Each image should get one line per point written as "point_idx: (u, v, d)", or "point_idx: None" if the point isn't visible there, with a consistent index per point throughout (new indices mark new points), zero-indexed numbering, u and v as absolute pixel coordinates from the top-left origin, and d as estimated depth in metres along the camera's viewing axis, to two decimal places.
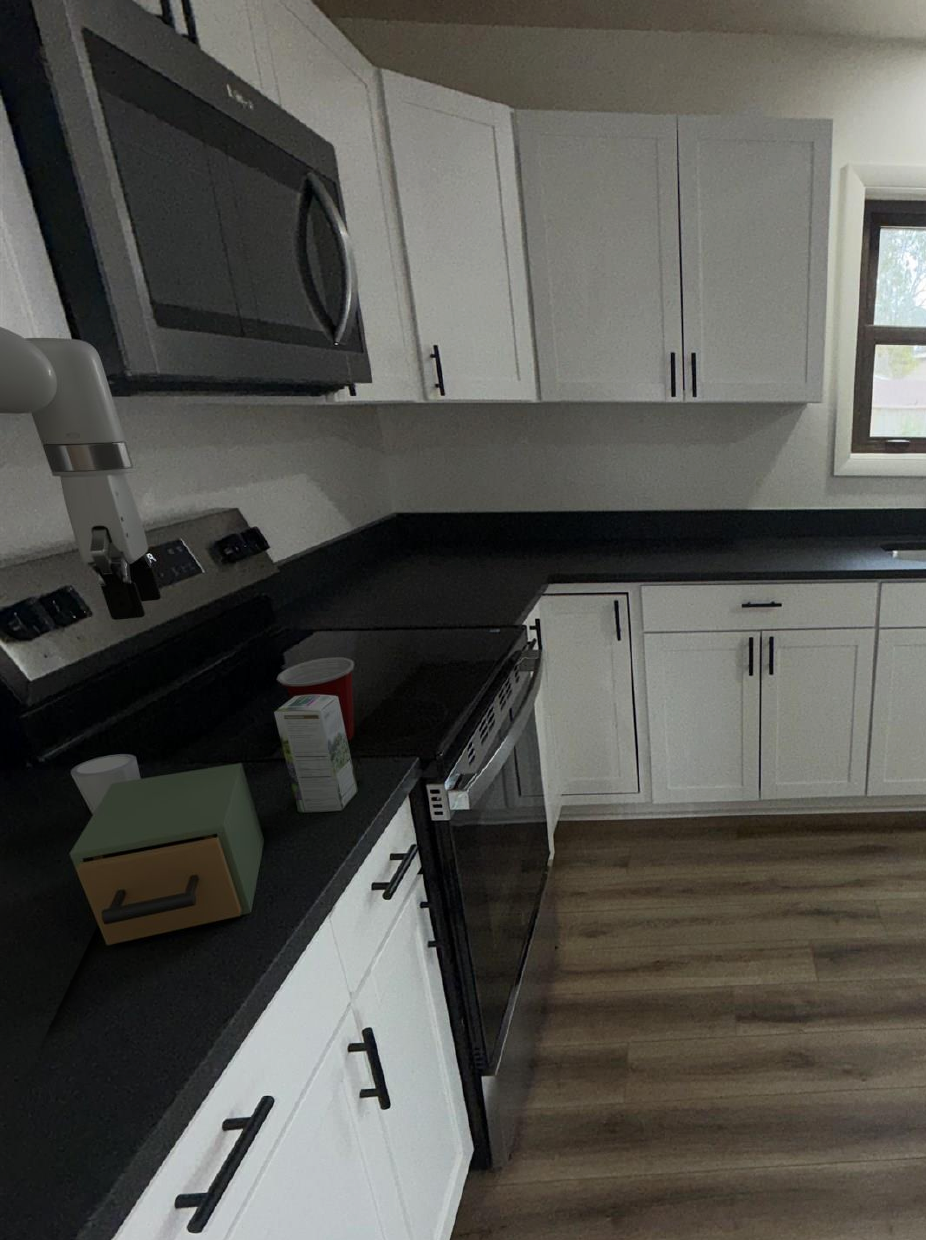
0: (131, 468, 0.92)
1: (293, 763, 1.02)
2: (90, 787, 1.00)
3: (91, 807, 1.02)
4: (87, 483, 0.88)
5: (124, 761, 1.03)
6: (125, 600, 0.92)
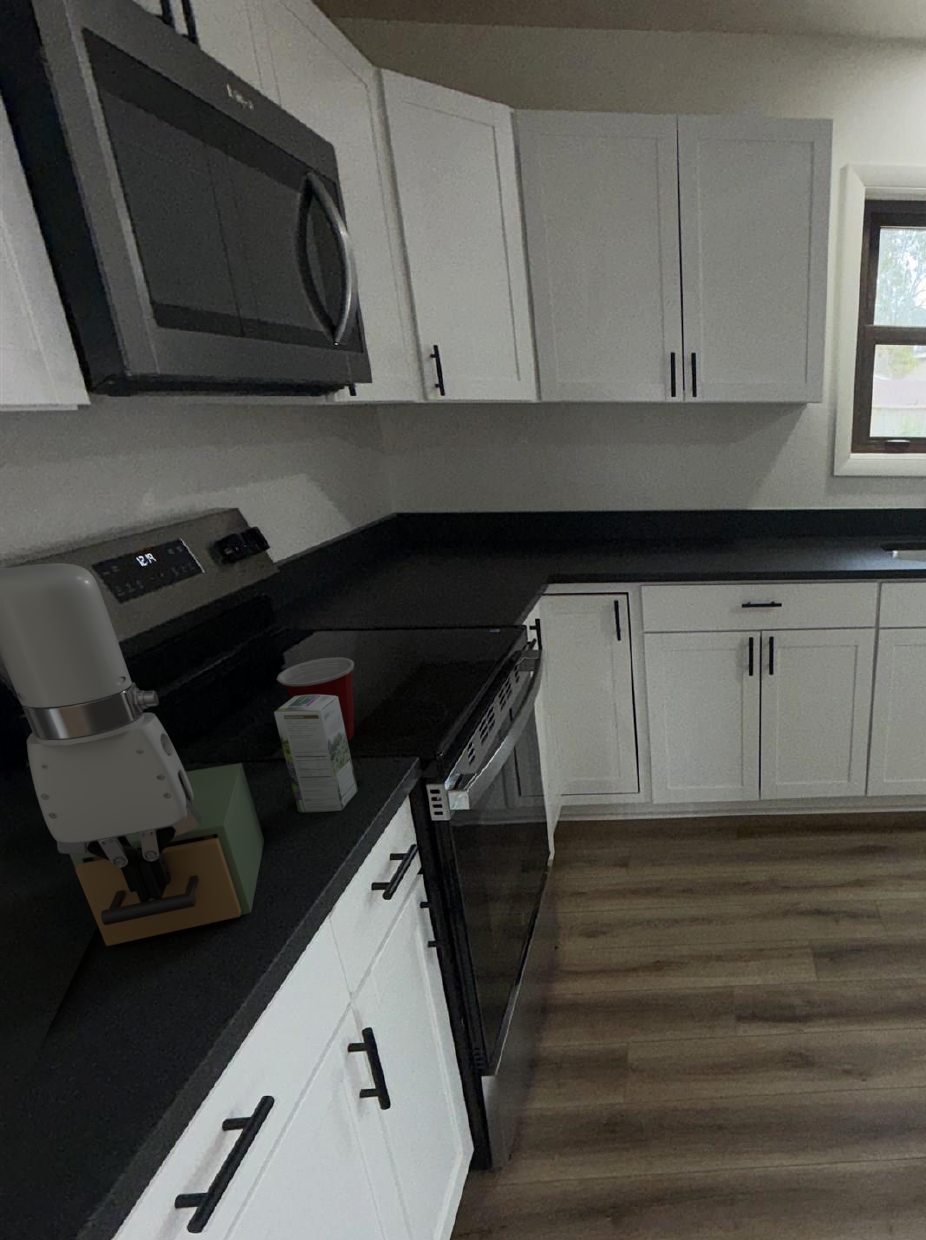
0: (72, 739, 0.65)
1: (293, 763, 1.02)
2: None
3: None
4: None
5: None
6: None
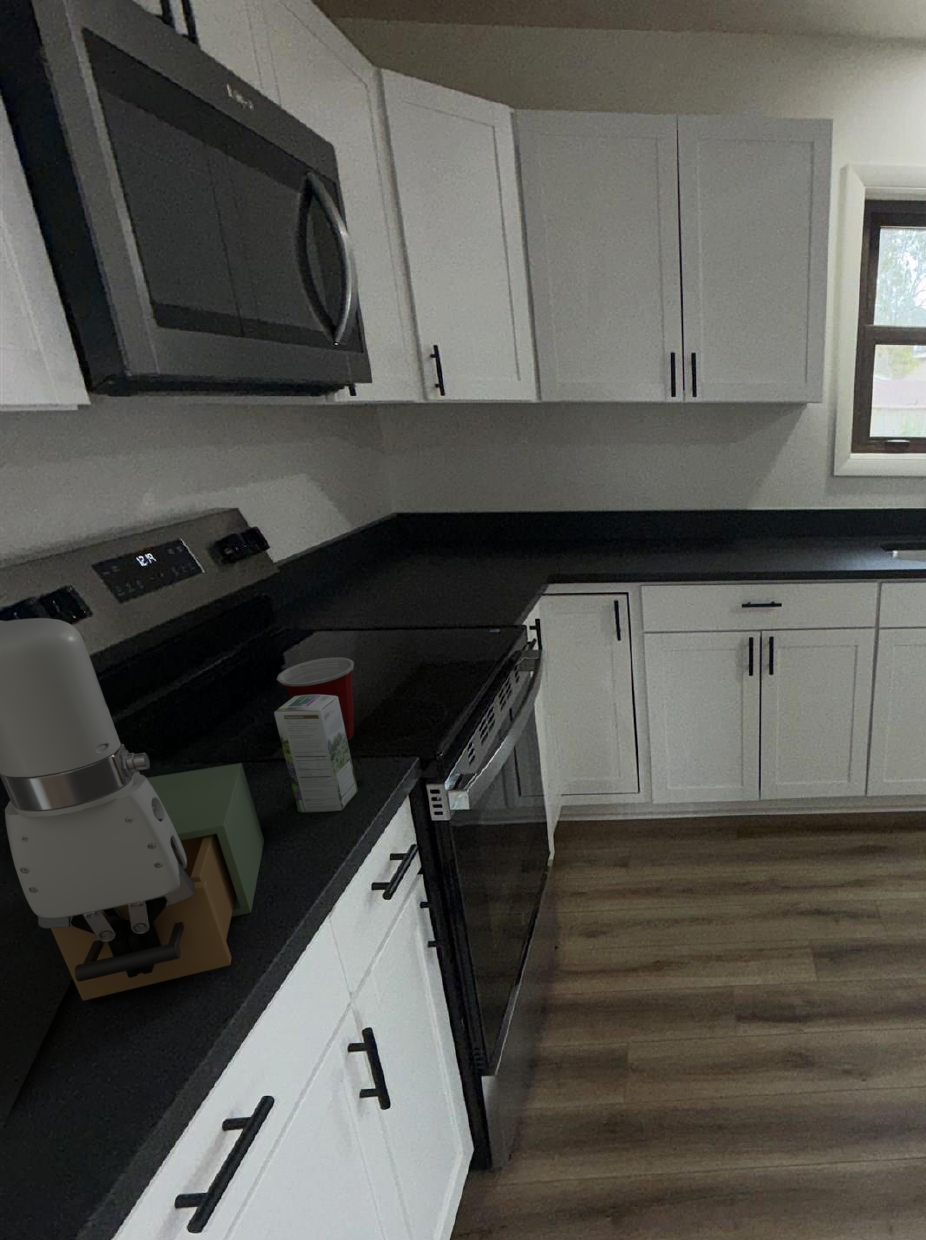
0: (54, 810, 0.60)
1: (293, 763, 1.02)
2: None
3: None
4: None
5: None
6: None
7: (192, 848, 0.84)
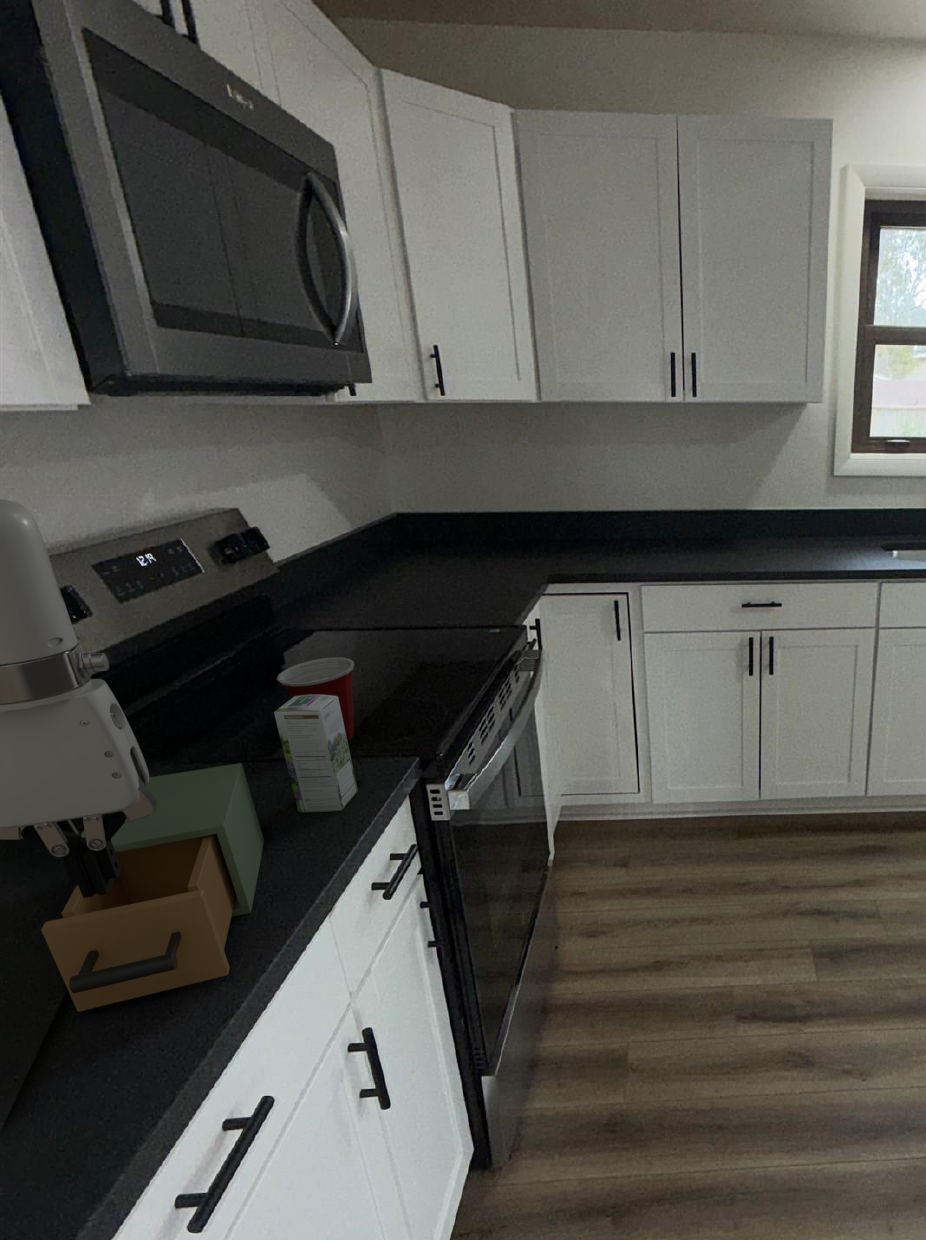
0: (1, 706, 0.56)
1: (293, 763, 1.02)
2: None
3: None
4: None
5: None
6: None
7: (189, 855, 0.82)
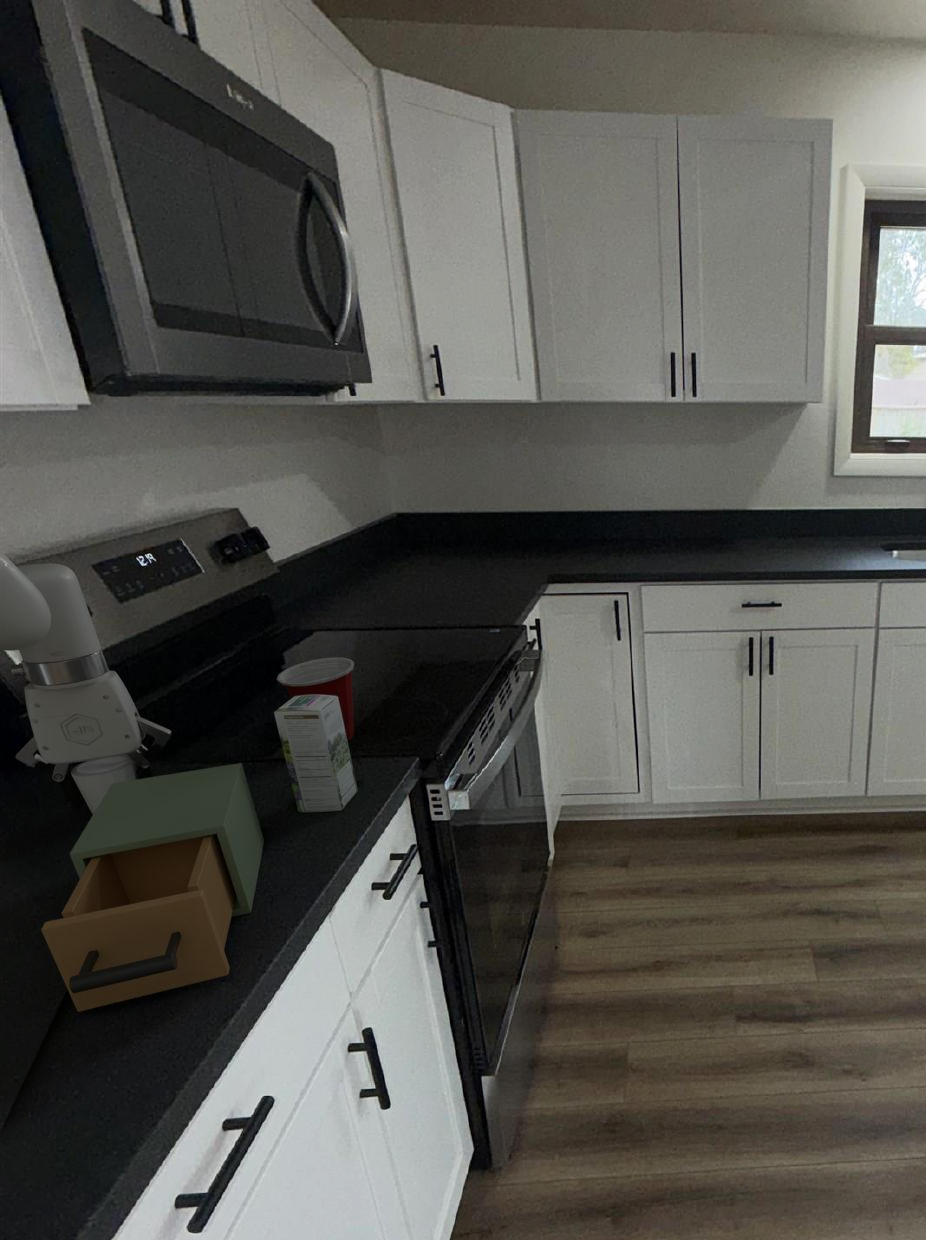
0: None
1: (293, 763, 1.02)
2: (90, 787, 1.00)
3: (91, 807, 1.02)
4: (119, 679, 1.00)
5: (124, 761, 1.04)
6: (155, 774, 1.06)
7: (189, 855, 0.82)
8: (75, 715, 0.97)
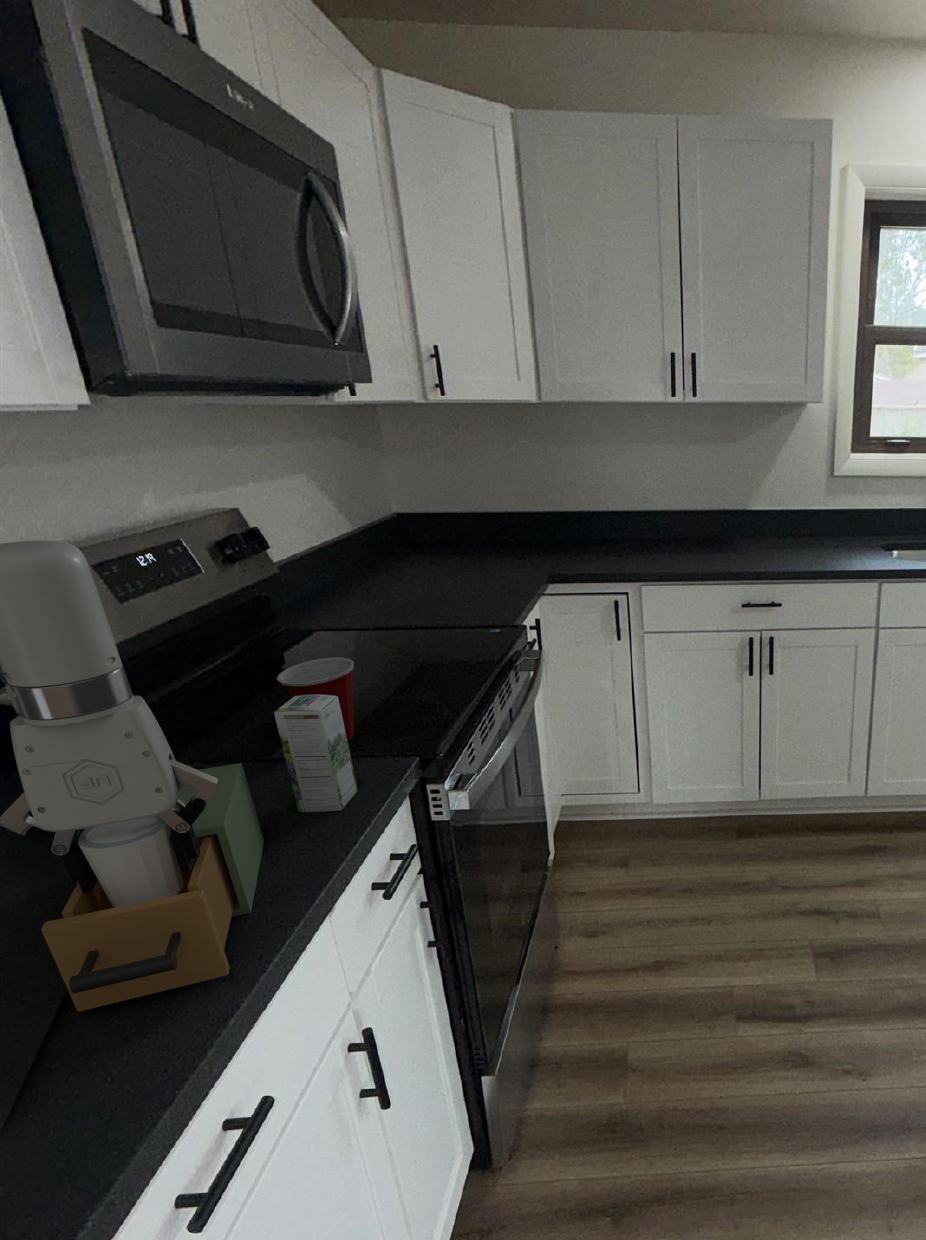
0: None
1: (293, 763, 1.02)
2: (106, 862, 0.70)
3: (107, 889, 0.72)
4: (147, 708, 0.70)
5: (153, 823, 0.73)
6: (196, 840, 0.75)
7: None
8: (84, 761, 0.67)
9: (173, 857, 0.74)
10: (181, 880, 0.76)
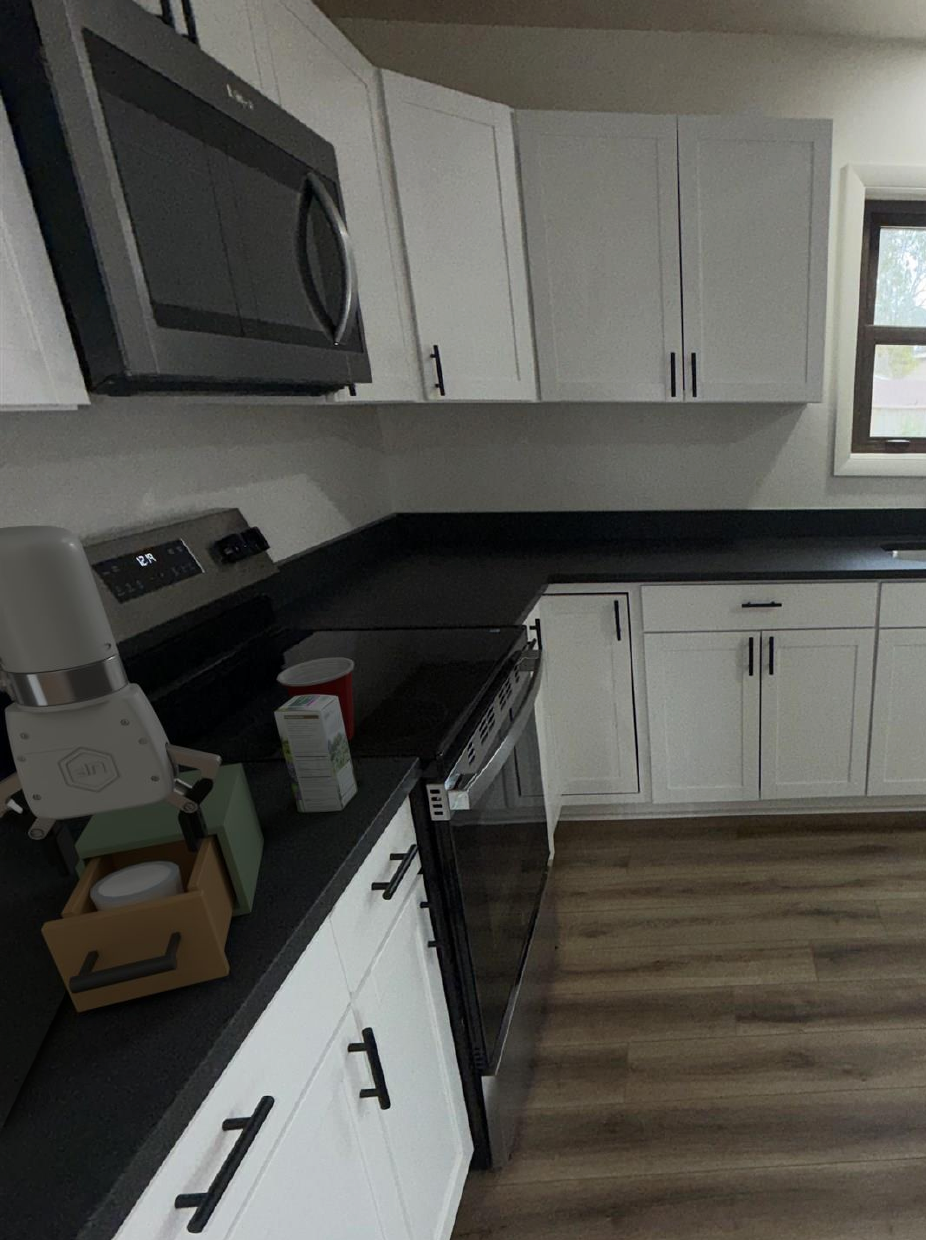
0: None
1: (293, 763, 1.02)
2: None
3: None
4: (143, 696, 0.69)
5: (163, 874, 0.75)
6: (203, 820, 0.75)
7: (189, 855, 0.82)
8: (80, 749, 0.66)
9: None
10: None
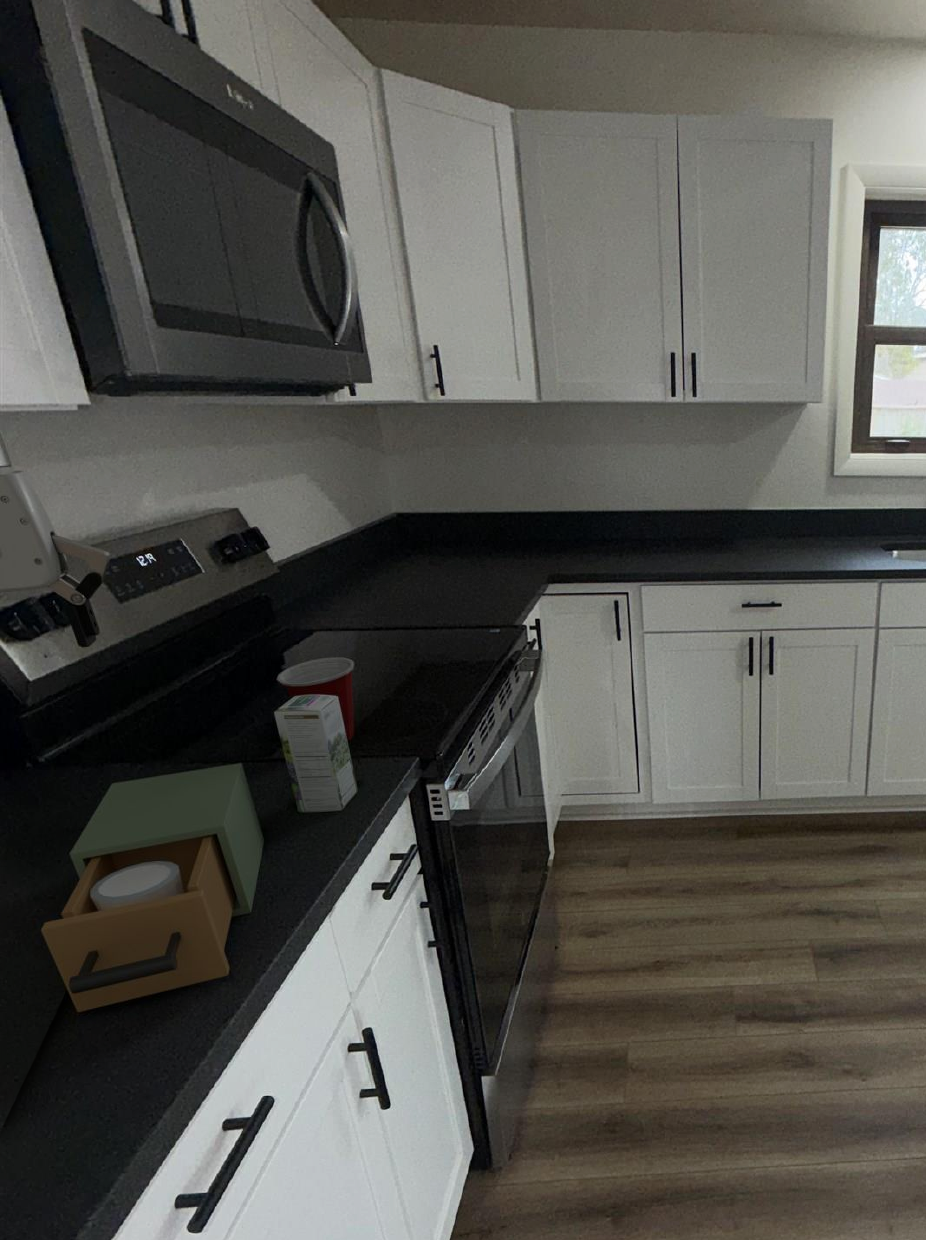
0: None
1: (293, 763, 1.02)
2: None
3: None
4: (26, 480, 0.71)
5: (163, 874, 0.75)
6: (94, 618, 0.77)
7: (189, 855, 0.82)
8: None
9: None
10: None
